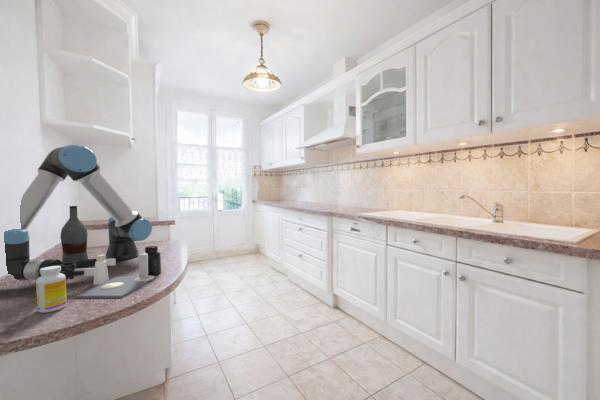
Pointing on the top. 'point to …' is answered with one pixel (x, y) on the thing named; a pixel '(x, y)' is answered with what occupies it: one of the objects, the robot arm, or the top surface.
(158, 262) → the supplement bottle
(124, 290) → the board
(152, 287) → the top surface
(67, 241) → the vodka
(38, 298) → the supplement bottle
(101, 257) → the pepper shaker
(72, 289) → the top surface
